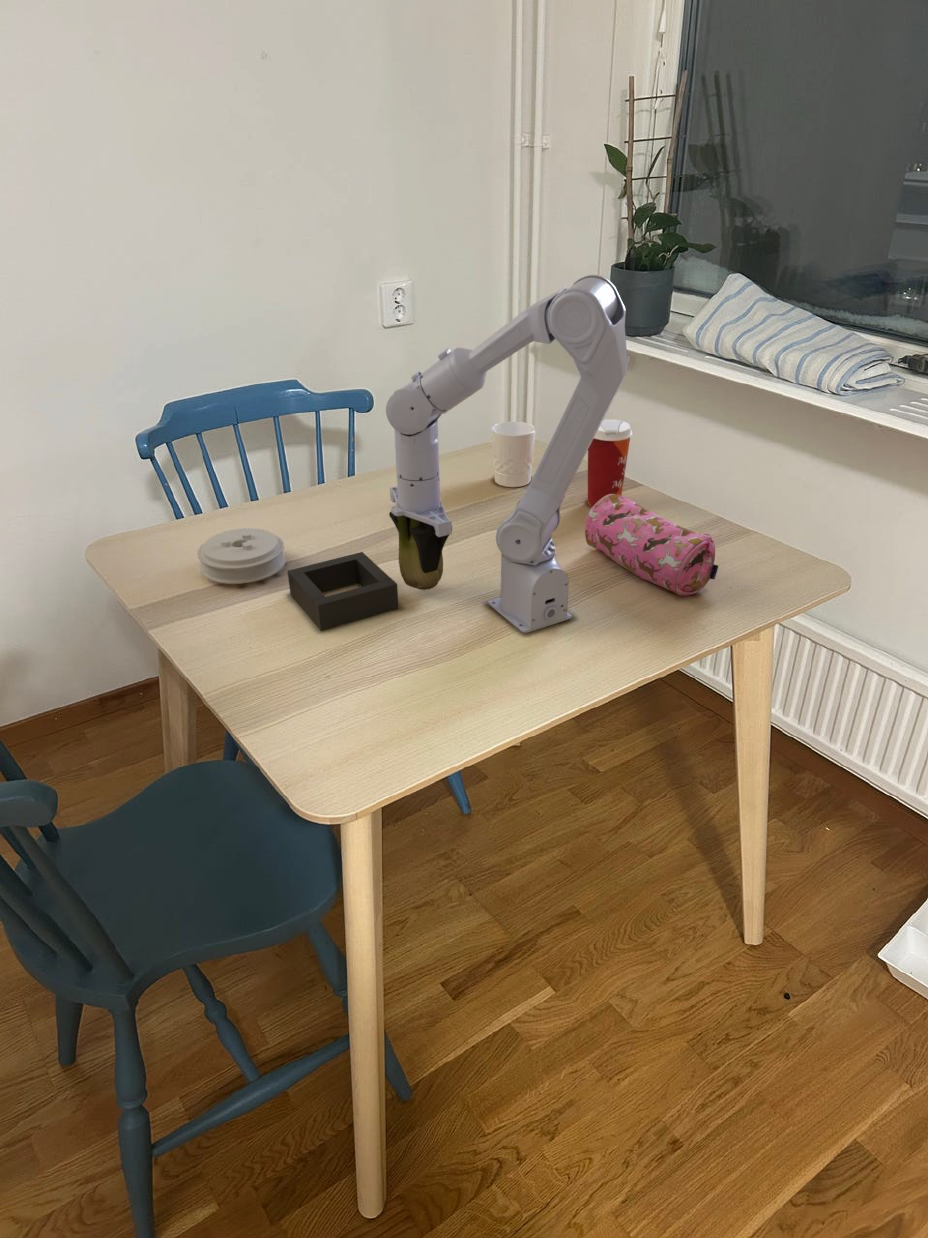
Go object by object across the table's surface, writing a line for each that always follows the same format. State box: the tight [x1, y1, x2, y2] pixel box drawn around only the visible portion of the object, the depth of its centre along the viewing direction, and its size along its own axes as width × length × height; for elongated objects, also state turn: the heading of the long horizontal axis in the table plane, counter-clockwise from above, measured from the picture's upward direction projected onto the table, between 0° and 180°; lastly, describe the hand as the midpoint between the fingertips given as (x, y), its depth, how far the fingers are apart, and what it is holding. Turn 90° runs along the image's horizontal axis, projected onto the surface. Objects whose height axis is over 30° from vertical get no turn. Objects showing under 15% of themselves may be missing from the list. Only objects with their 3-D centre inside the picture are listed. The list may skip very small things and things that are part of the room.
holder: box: [287, 551, 399, 632], centre depth 125 cm, size 12×12×4 cm
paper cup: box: [587, 418, 634, 508], centre depth 151 cm, size 8×8×14 cm
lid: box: [196, 527, 287, 585], centre depth 133 cm, size 13×13×5 cm
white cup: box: [491, 421, 536, 488], centre depth 162 cm, size 8×8×10 cm
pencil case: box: [584, 494, 719, 597], centre depth 131 cm, size 21×9×9 cm, turn 34°
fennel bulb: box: [397, 516, 444, 591], centre depth 124 cm, size 6×5×12 cm
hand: (421, 563), depth 126 cm, fingers closed on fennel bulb, 4 cm apart
